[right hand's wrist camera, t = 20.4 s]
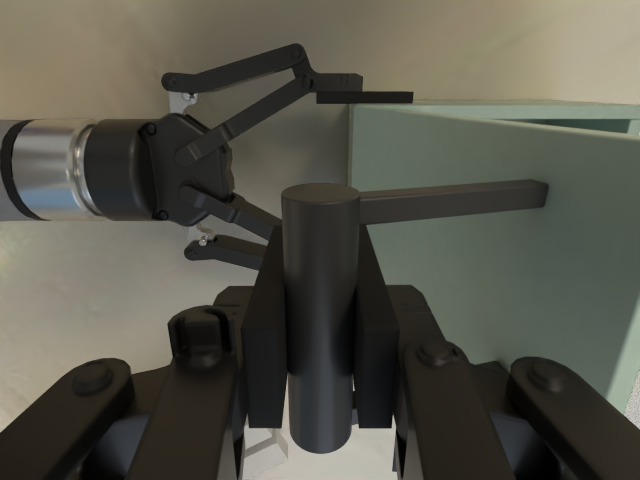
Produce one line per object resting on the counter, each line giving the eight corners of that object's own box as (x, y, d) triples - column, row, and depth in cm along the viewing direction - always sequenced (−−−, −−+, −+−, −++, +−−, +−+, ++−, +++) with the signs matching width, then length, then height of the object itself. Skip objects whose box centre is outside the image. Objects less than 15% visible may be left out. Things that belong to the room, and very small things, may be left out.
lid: (723, 143, 8) (325, 165, 6) (597, 493, 11) (323, 589, 9) (366, 105, 24) (228, 107, 22) (360, 254, 27) (240, 269, 25)
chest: (554, 100, 34) (648, 105, 24) (532, 209, 37) (606, 254, 28) (349, 99, 34) (359, 105, 24) (346, 209, 38) (354, 252, 28)
